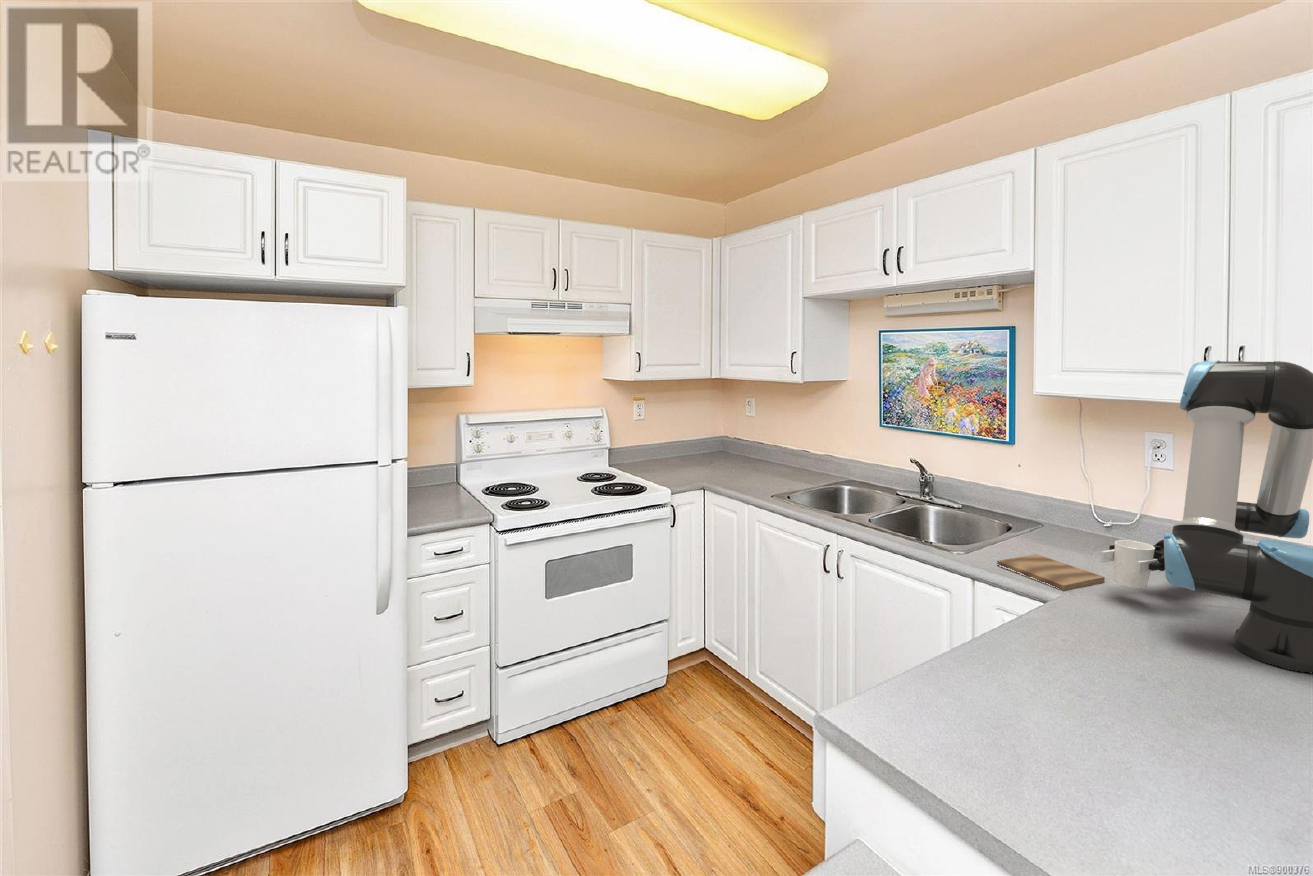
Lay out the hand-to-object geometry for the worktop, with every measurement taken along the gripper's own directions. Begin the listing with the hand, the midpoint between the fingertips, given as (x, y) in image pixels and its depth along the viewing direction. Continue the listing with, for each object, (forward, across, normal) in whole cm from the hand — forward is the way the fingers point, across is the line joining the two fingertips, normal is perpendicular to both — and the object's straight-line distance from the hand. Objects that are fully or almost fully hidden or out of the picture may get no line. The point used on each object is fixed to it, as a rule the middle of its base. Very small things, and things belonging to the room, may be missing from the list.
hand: (1119, 562), depth 149 cm
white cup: (-5, 0, -6) cm, 8 cm away
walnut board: (-4, +21, -11) cm, 24 cm away
